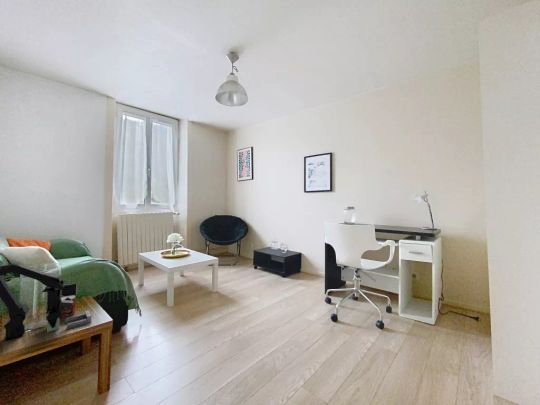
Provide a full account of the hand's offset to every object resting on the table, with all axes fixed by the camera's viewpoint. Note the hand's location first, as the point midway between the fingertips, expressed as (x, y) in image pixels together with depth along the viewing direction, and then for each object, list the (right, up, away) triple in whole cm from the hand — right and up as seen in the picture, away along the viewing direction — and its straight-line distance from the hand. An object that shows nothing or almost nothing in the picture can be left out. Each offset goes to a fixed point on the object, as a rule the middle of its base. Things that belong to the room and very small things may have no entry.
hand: (53, 325), depth 133 cm
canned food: (-6, -2, +16) cm, 17 cm away
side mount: (+8, -2, +6) cm, 10 cm away
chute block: (0, -2, 0) cm, 2 cm away
